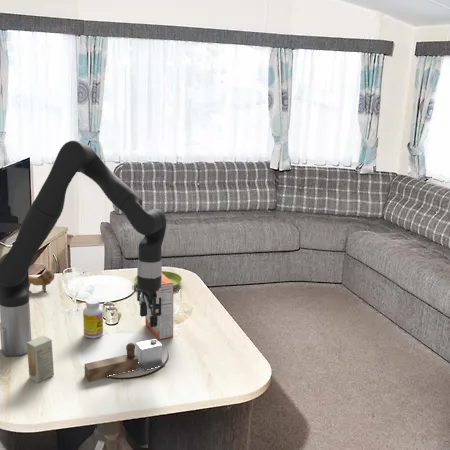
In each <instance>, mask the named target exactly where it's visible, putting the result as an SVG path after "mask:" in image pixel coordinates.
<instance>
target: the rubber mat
mask: <svg viewBox="0 0 450 450" xmlns="http://www.w3.org/2000/svg"><path fill="white" fill-rule="evenodd" d="M158 366H161V367H160V368H163V367H165V366H166V364H165V362H163V361H162V362H159V363H154V364H150V365H146V366H142V367H141V369H142V368H143V369H144V370H146V371H148V370H147V369H151V368H155V367H158ZM143 369H142V370H143ZM155 369H156V368H155ZM144 370H143V371H144ZM151 370H152V369H151Z"/></svg>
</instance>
